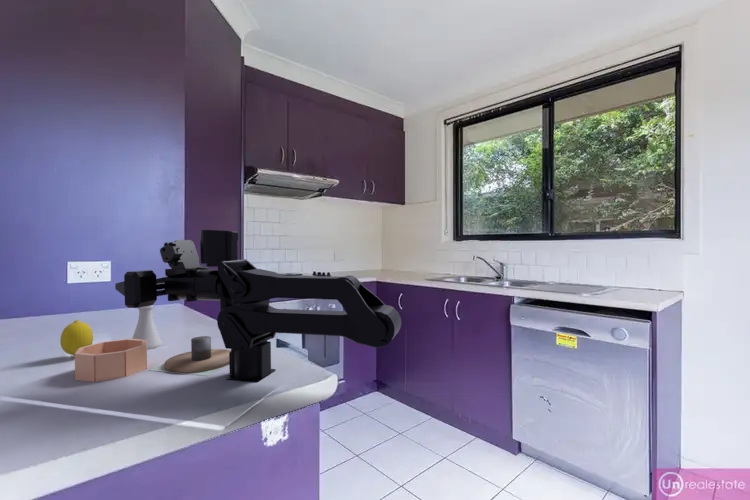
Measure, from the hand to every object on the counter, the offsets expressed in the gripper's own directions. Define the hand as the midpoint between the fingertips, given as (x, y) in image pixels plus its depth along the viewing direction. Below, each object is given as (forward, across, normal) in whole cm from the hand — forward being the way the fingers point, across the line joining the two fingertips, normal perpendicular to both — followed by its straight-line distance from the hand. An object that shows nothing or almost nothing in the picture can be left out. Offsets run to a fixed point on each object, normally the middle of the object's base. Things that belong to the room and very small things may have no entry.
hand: (137, 283), depth 73 cm
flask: (+10, -11, +17) cm, 22 cm away
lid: (-11, -4, +16) cm, 20 cm away
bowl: (+2, +4, +16) cm, 17 cm away
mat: (-11, -4, +17) cm, 20 cm away
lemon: (+19, -2, +17) cm, 25 cm away
